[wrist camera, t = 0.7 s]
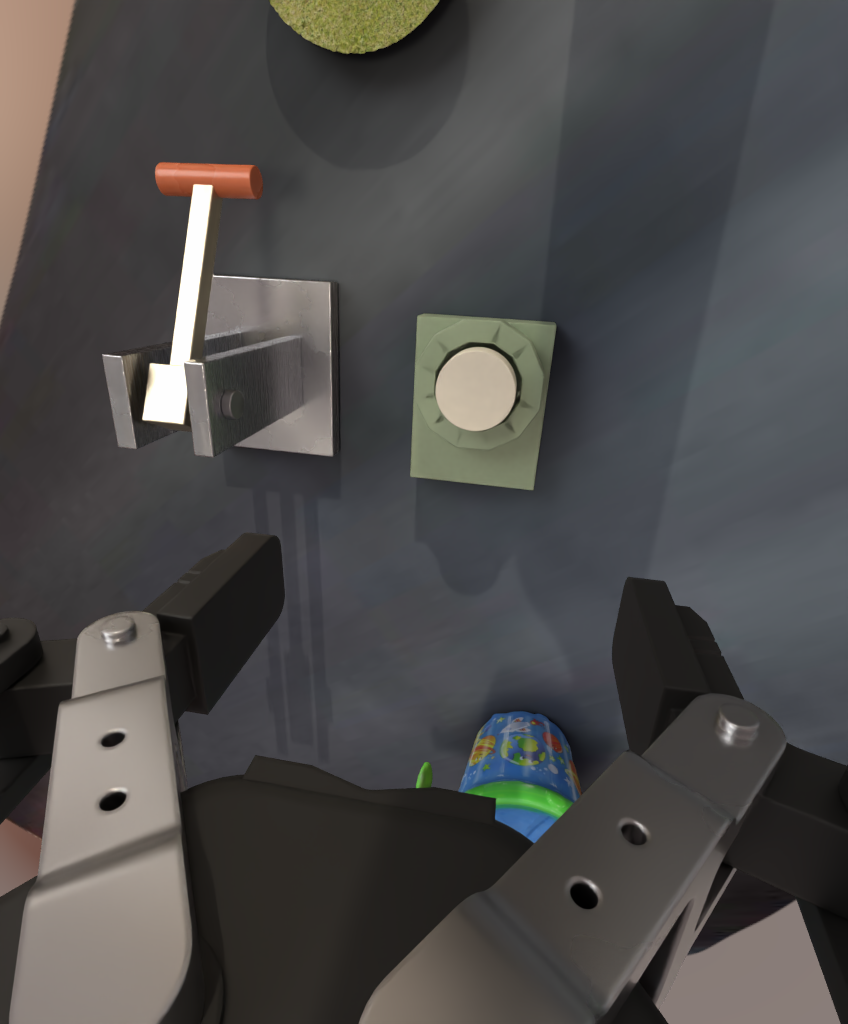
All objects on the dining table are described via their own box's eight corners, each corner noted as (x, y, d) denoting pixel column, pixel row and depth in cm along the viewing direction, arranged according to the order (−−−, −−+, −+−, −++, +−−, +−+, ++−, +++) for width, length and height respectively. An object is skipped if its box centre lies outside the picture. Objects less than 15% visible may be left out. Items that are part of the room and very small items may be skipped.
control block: (424, 310, 34) (411, 315, 31) (555, 319, 33) (558, 324, 29) (416, 466, 38) (404, 486, 35) (533, 479, 37) (533, 501, 34)
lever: (179, 180, 29) (150, 148, 27) (269, 183, 28) (247, 151, 26) (146, 427, 29) (114, 417, 27) (236, 436, 28) (211, 427, 26)
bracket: (203, 273, 36) (46, 273, 24) (338, 281, 34) (239, 285, 23) (220, 438, 40) (93, 505, 29) (339, 451, 39) (257, 526, 27)
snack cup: (429, 775, 50) (405, 889, 40) (428, 680, 45) (402, 784, 36) (611, 800, 47) (631, 929, 38) (628, 702, 43) (654, 820, 34)
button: (442, 343, 31) (437, 347, 30) (521, 349, 31) (520, 353, 29) (437, 420, 33) (432, 427, 31) (512, 427, 32) (510, 435, 31)
